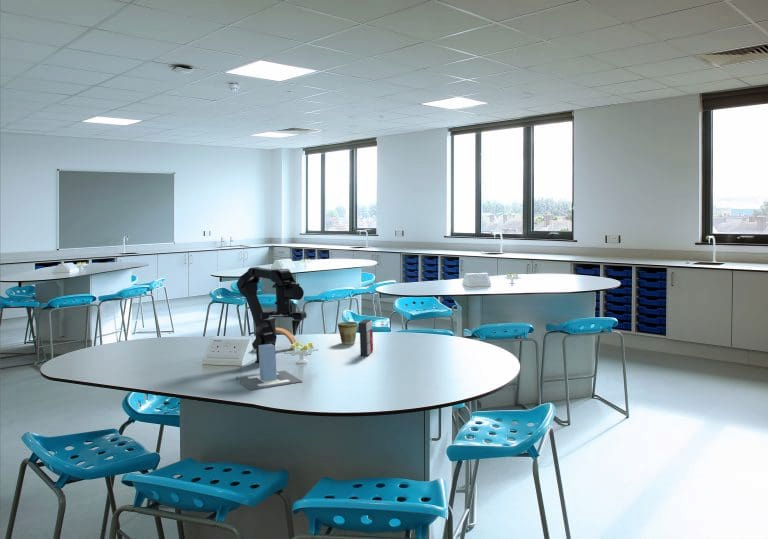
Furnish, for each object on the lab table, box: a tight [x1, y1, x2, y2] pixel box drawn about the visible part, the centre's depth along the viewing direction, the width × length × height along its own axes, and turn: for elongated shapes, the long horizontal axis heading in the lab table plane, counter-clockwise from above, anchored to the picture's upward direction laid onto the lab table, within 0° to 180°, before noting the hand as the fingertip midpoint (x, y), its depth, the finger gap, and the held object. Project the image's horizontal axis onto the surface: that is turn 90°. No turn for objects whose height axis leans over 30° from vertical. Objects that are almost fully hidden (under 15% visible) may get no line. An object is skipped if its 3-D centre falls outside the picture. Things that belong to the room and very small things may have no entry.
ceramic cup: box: [337, 321, 359, 345], centre depth 300 cm, size 13×10×10 cm
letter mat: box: [236, 370, 303, 391], centre depth 231 cm, size 20×20×1 cm
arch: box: [275, 327, 297, 344], centre depth 290 cm, size 6×20×10 cm, turn 84°
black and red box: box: [357, 318, 374, 357], centre depth 273 cm, size 11×4×15 cm, turn 168°
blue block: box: [258, 344, 277, 381], centre depth 230 cm, size 5×5×13 cm
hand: (284, 335), depth 253 cm, fingers open, 9 cm apart
